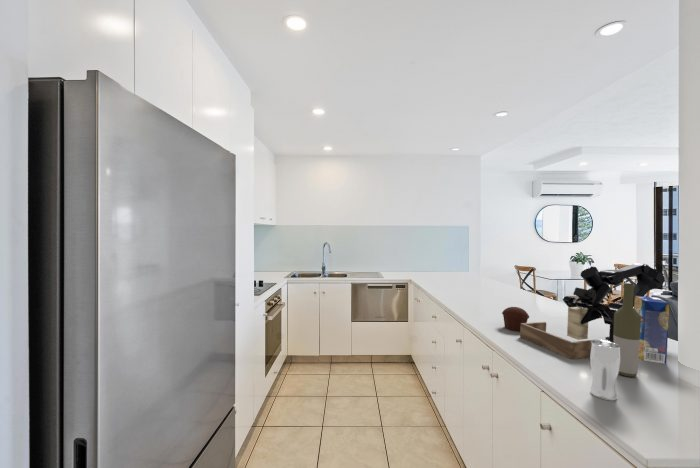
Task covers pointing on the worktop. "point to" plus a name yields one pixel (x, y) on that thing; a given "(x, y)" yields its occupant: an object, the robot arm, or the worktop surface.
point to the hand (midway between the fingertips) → (575, 321)
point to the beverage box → (653, 328)
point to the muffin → (514, 318)
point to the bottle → (627, 333)
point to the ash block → (577, 323)
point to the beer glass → (604, 368)
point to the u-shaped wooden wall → (554, 341)
